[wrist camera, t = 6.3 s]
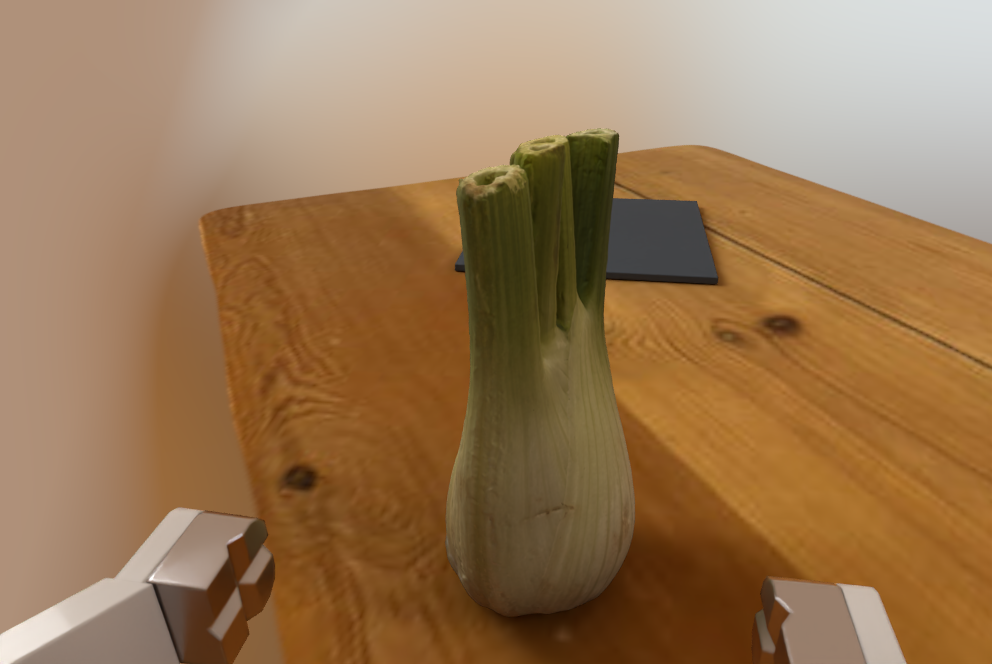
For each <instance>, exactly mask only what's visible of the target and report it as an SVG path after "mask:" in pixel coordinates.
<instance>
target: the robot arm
mask: <svg viewBox="0 0 992 664" xmlns="http://www.w3.org/2000/svg"><path fill="white" fill-rule="evenodd" d="M267 536H268V532H267V528H266V525H265V521H264V520H262V519H259V518H255V517H247V516H241V515H233V514H227V513H219V512H212V511H201V510H195V509H188V508H181V507H179V508H176V509H175V510H173V511H171V512H169V513H168V515H167V516H166V517H165V518H164V519H163V520H162V522H161V523H160V524H159V525H158V526H157V528H156V529H155V530H154V531H153V532H152V534H151V535H150V536H149V537H148V539H147V540H146V541H145V542H144V543H143V545H142V546H141V547H140V548H139V549H138V551H137V552H136V553H135V554H134V555H133V557H132V558H131V559H130V560H129V561H128V563H127V564H126V565H125V566H124V567H123V569H122V570H121V571H120V572H119V573H118V575H117V576H116V577H115V578H114V579H112V578H105V579H103V580H101V581H99V582H97V583H95V584H93V585H92V586H90V587H88V588H86V589H84V590H82V591H80V592H78V593H77V594H75V595H73V596H71V597H69V598H67V599H65V600H63V601H62V602H60V603H58V604H56V605H54V606H52V607H51V608H49V609H47V610H45V611H43V612H41V613H39V614H38V615H36V616H34V617H32V618H30V619H28V620H26V621H24V622H22V623H21V624H19V625H17V626H15V627H13V628H11V629H10V630H8V631H6V632H4V633H2V634H0V664H180V663H184V664H233V662H234V660H235V658H236V657H237V655H238V653H239V651H240V650H241V648H242V646H243V644H244V642H245V641H246V639H247V637H248V635H249V629H248V624H247V621H248V620H250V619H251V618H252V617H254V616H256V615H257V614H259V613H260V612H262V610H263V608H264V607H265V605H266V603H267V601H268V599H269V597H270V594H271V591H272V587H273V583H274V580H275V563H274V558H273V554H272V553H271V552H270V551H269V550H268V549H267V548H266V547H265V546H264V545H263V543H264V541H265V540H266V538H267ZM760 595H761V600H762V605H763V609H762V610H761V611H759V612H758V613H756V614H755V619H754V624H753V629H752V647H751V649H752V661H753V664H907V663H906V661H905V658H904V656H903V653H902V651H901V648H900V646H899V643H898V641H897V638H896V636H895V633H894V631H893V628H892V626H891V623H890V621H889V618H888V616H887V613H886V611H885V608H884V606H883V603H882V601H881V598H880V596H879V593H878V592H877V591H876V590H875V589H874V588H873V587H867V586H857V585H848V584H839V583H837V584H834V583H830V582H820V581H811V580H801V579H792V578H782V577H773V576H767V577H766V578H765V580H764V581H763V585H762V589H761V593H760Z"/></svg>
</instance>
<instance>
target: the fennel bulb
mask: <svg viewBox="0 0 992 664" xmlns="http://www.w3.org/2000/svg"><path fill="white" fill-rule="evenodd" d="M618 145H619V134H618V133H616V132H615V131H613V130H610V129H601V128H598V129H590V130H586V131H580V132H576V133H572V134H570V135H568V136H566V137H565V136H561V135H553V136H547V137H544V138H539V139H535V140H532V141H528V142H525V143H522V144H520V145H519V147H518V149H517V150H516V151H515V152H514V153H513V154H512V155H511V159H510V166H508V165H501V166H497V167H493V168H491V167H488V168H486V169H482V170H480V171H478V172H476V173H472V174H470V175H469V176H468V177H466V178H465V179H459V186H458V188H457V191H456V195H457V203H458V210H459V215H460V225H461V235H462V245H463V253H464V264H465V277H466V286H467V301H468V310H469V334H470V386H469V395H468V404H467V412H466V416H465V421H464V428H463V432H462V439H461V442H460V448H459V451H458V454H457V457H456V460H455V464H454V468H453V471H452V475H451V481H450V484H449V491H448V496H447V505H446V531H447V536H446V541H445V544H446V550H447V556H448V560H449V562H450V564H451V566H452V568H453V570H454V571H455V572H456V573H457V575H458V576H459V579H460V581H461V583H462V585H463V586H464V588H465V590H466V591H467V593H468V594H469V596H470V597H471V598H472V599H473V600H474V601H475V602H476V603H478V604H479V605H481V606H485V607H487V608H489V609H492V610H493V611H495V612H497V613H499V614H501V615H503V616H507V617H512V616H520V615H527V614H532V613H541V614H551V613H555V612H560V611H566V610H570V609H573V608H575V607H577V606H580V605H581V604H584V603H586V602H588V601H590V600H593V599H594V598H596V597H598V596H599V595H600V594H601V593H602V592H603V591H604V590H605V589H606V587H607V586H608V585H609V584H610V583H611V581H612V580H613V578H614V577H615V576H616V574H617V572H618V571H619V569H620V567H621V566H622V564H623V561H624V559H625V557H626V555H627V553H628V550H629V548H630V544H631V540H632V536H633V531H634V523H635V497H634V488H633V481H632V473H631V467H630V461H629V456H628V451H627V447H626V442H625V438H624V433H623V429H622V424H621V421H620V417H619V413H618V409H617V404H616V398H615V394H614V389H613V384H612V376H611V371H610V364H609V358H608V353H607V347H606V342H605V335H604V314H603V313H604V298H605V287H606V268H607V262H608V244H609V234H610V222H611V212H612V203H613V194H614V181H615V174H616V163H617V154H618Z"/></svg>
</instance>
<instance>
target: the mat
mask: <svg viewBox="0 0 992 664" xmlns="http://www.w3.org/2000/svg"><path fill="white" fill-rule="evenodd" d="M455 270H456V271H465V264H464V253H463V251H462V253H461V255H460V257H459V258H458V260H457V262H456V264H455ZM606 278H607V279H626V280H646V281H665V282H684V283H704V284H717V282H718V276H717V272H716V269H715V265H714V261H713V258H712V254H711V251H710V247H709V244H708V240H707V236H706V233H705V229H704V226H703V222H702V218H701V215H700V211H699V208H698V204H697V201H676V200H647V199H618V198H613V203H612V212H611V222H610V234H609V244H608V262H607V268H606Z"/></svg>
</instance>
